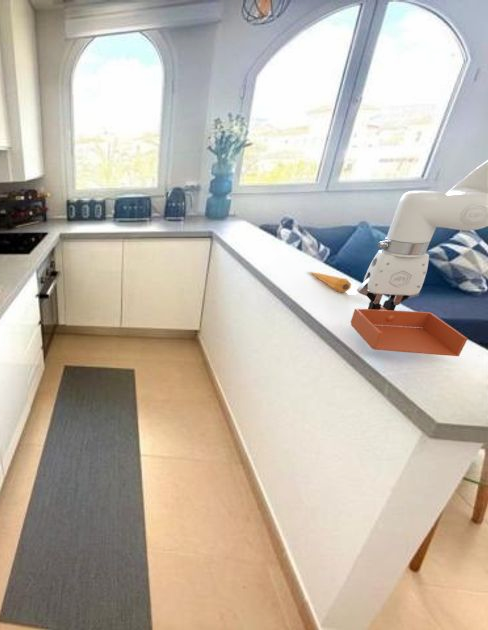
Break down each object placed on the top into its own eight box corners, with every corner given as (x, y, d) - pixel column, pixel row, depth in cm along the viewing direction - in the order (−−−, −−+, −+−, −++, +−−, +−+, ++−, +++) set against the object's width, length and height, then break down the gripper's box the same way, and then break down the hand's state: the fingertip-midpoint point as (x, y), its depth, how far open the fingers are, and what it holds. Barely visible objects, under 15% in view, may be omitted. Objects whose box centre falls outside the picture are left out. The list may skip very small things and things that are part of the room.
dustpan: (458, 356, 72) (468, 338, 70) (372, 349, 77) (379, 332, 75) (403, 312, 91) (409, 297, 89) (336, 309, 95) (340, 294, 93)
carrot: (347, 295, 110) (356, 282, 108) (335, 290, 110) (343, 278, 108) (312, 279, 129) (319, 268, 127) (301, 275, 128) (308, 264, 127)
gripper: (371, 250, 80) (347, 320, 88) (458, 252, 75) (425, 326, 83) (357, 242, 86) (336, 308, 94) (437, 243, 81) (407, 312, 90)
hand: (378, 316), depth 89 cm, fingers closed on dustpan, 2 cm apart
